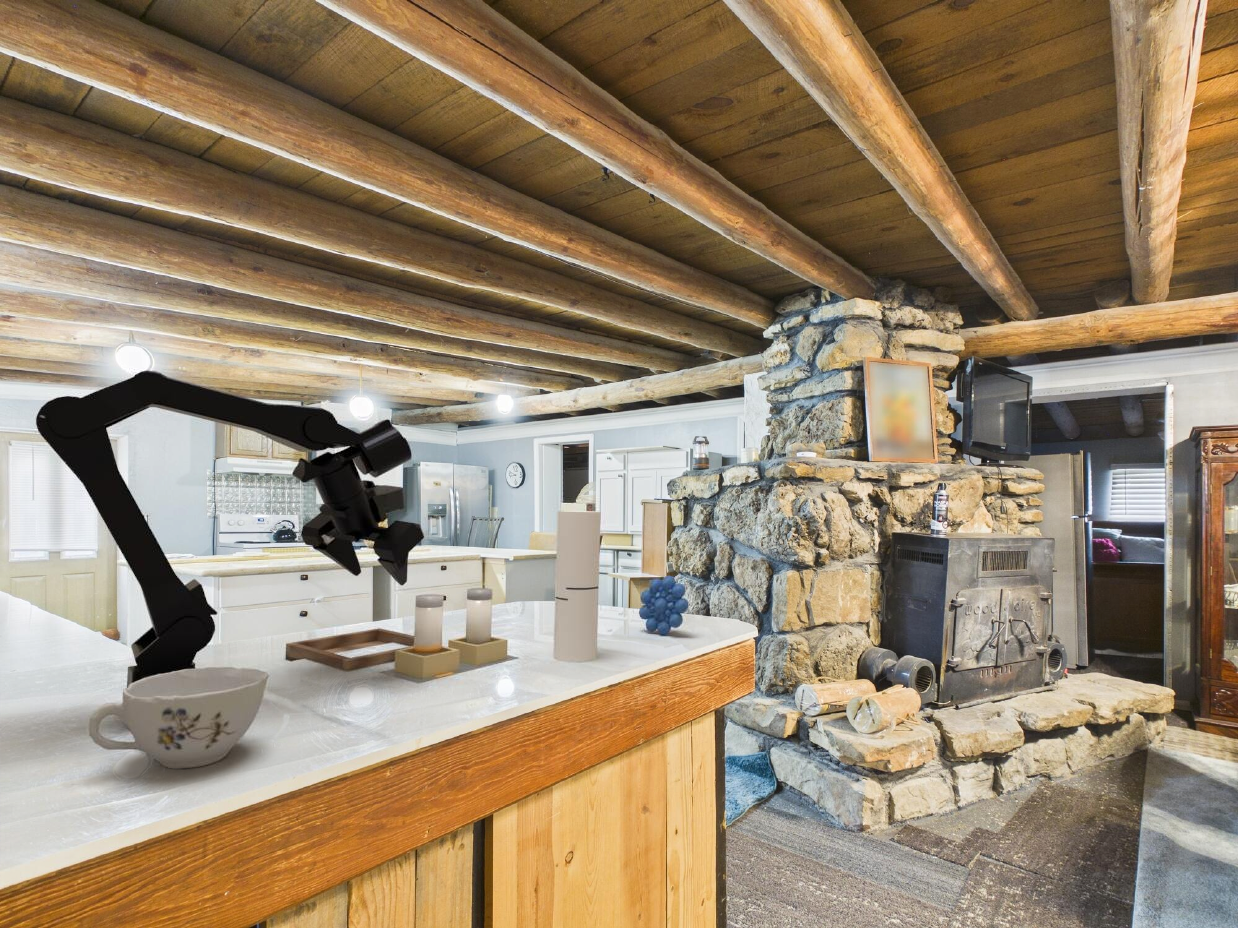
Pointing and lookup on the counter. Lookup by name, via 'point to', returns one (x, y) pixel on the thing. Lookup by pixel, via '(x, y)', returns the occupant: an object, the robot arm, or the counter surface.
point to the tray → (348, 648)
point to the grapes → (663, 605)
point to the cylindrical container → (577, 586)
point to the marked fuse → (428, 624)
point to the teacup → (186, 714)
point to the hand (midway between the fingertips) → (380, 578)
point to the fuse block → (448, 660)
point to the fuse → (478, 616)
